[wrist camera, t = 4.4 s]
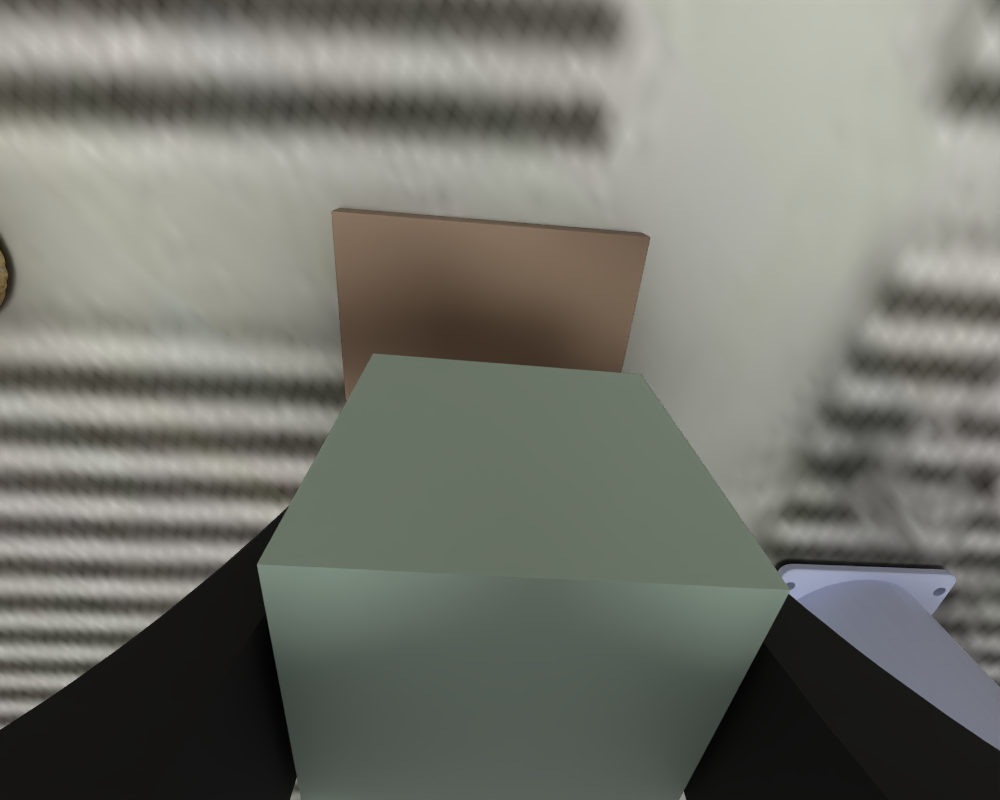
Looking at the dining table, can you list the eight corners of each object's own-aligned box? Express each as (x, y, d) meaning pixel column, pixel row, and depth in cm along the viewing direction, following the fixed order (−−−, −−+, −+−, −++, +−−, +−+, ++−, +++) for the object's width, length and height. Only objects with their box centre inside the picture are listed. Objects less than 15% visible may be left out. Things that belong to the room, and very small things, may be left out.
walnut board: (591, 474, 19) (596, 487, 18) (356, 463, 18) (351, 476, 17) (642, 232, 15) (650, 237, 14) (339, 208, 14) (331, 211, 13)
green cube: (592, 566, 11) (661, 833, 7) (378, 555, 11) (306, 829, 7) (641, 374, 9) (790, 590, 5) (372, 353, 9) (257, 564, 4)
